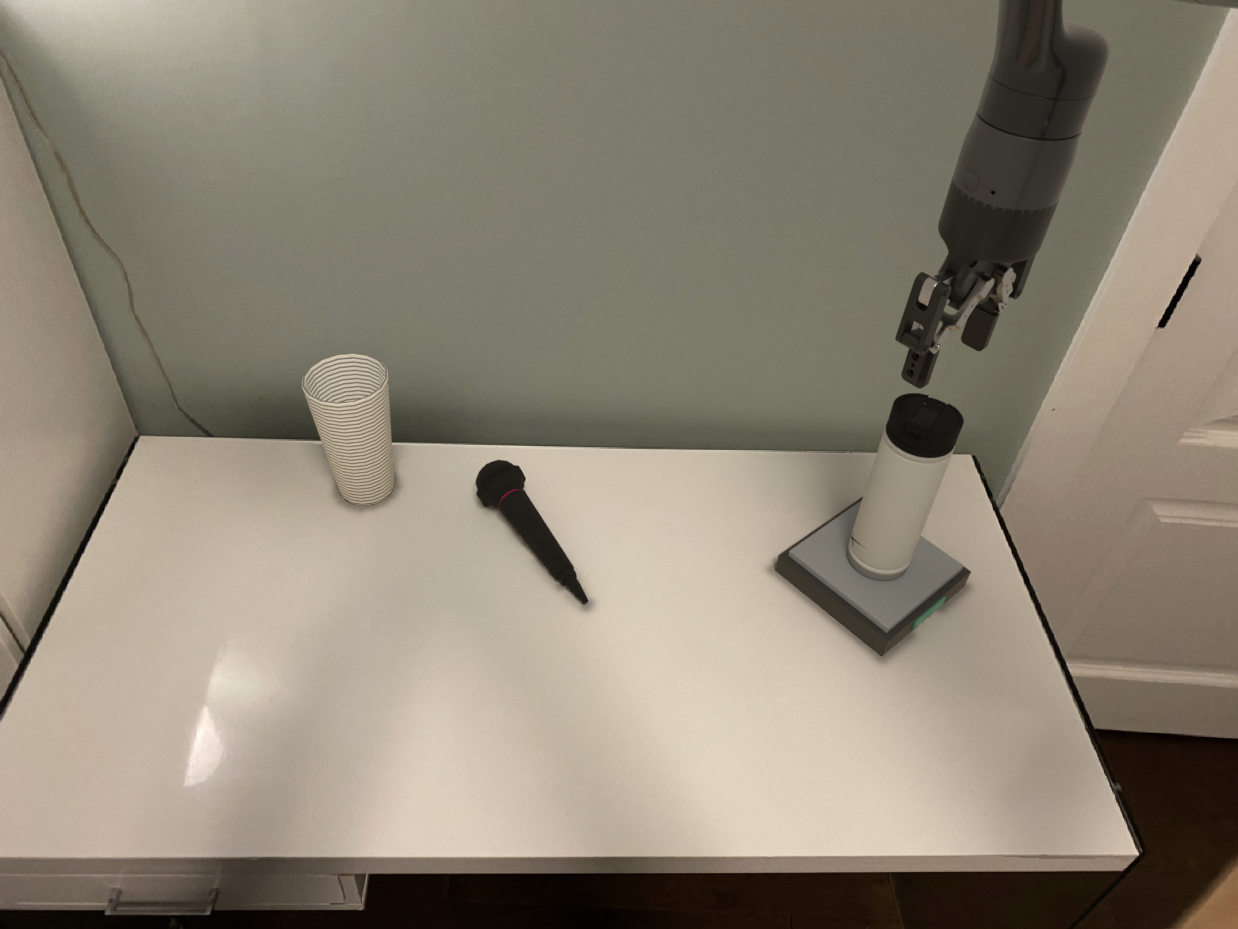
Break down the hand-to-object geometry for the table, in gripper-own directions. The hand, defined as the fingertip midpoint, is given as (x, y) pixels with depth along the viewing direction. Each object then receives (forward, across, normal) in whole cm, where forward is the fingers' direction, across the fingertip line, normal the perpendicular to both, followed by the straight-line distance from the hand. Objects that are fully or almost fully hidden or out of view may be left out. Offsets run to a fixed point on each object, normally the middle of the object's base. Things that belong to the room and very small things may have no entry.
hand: (943, 363), depth 77 cm
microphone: (+28, -25, +26) cm, 46 cm away
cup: (+28, -34, +44) cm, 62 cm away
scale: (+28, 0, 0) cm, 28 cm away
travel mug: (+25, 0, 0) cm, 25 cm away
